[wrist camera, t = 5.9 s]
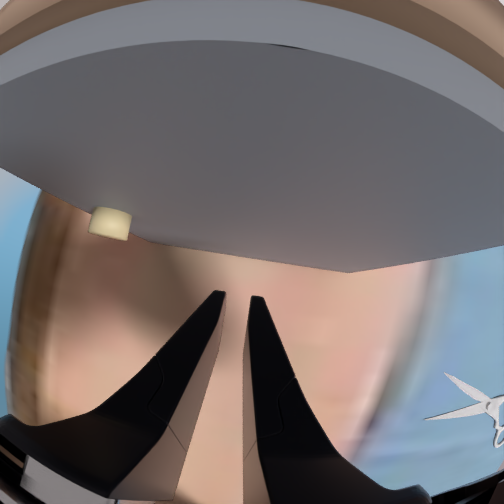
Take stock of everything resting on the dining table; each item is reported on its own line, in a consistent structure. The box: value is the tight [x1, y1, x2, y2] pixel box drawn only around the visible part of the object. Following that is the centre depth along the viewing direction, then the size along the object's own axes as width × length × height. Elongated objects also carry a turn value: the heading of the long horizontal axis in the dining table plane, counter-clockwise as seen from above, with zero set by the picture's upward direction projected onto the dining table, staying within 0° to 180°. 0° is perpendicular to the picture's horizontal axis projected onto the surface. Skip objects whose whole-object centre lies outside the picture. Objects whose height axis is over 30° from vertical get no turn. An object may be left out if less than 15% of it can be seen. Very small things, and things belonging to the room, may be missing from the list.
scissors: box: [425, 373, 504, 448], centre depth 14 cm, size 11×1×20 cm
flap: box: [0, 0, 504, 273], centre depth 9 cm, size 2×12×14 cm, turn 81°
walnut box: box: [0, 0, 504, 89], centre depth 9 cm, size 9×12×15 cm
